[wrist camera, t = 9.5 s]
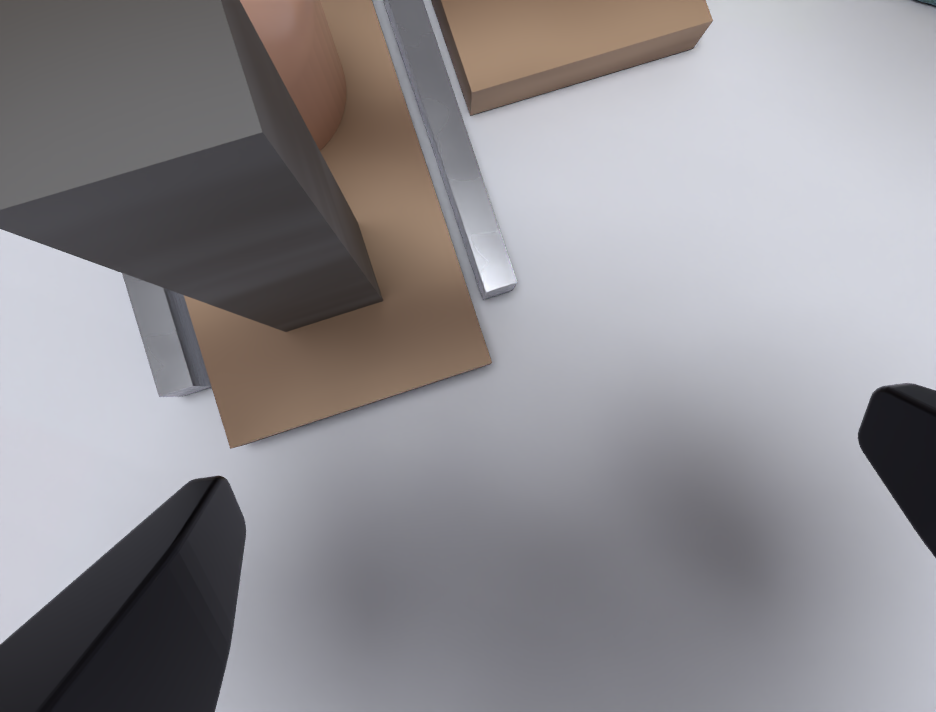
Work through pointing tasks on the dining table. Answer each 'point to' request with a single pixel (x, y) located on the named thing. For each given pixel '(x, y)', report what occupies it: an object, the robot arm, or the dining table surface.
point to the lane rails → (167, 310)
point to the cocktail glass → (929, 1)
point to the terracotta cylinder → (303, 60)
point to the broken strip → (558, 42)
